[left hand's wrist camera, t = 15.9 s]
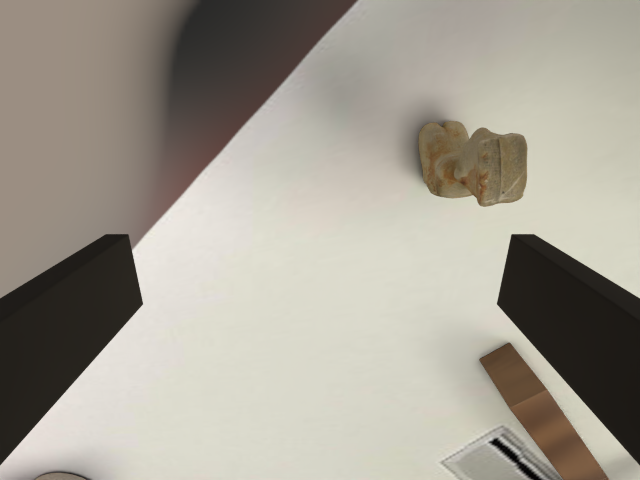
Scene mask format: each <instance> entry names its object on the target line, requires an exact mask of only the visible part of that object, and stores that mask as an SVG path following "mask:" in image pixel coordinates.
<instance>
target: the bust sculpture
mask: <svg viewBox="0 0 640 480" xmlns="http://www.w3.org/2000/svg"><path fill="white" fill-rule="evenodd" d="M35 480H86V479H84V478H82V477H79V476H76V475H72V474H67V473H50V474H45V475H42V476H40V477H38V478H36V479H35Z"/></svg>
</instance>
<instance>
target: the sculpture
mask: <svg viewBox="0 0 640 480" xmlns="http://www.w3.org/2000/svg"><path fill="white" fill-rule="evenodd" d="M418 142H419V153H420V159H421V164H422V169H423V179H424V182H425V183H426V184H427V186H428V189H429V191H430V192H431V193H432V194H434V195H436V196H440V197H446V198H460V197H467V196H471V195H474V196H475V197H476V198H477V201H478V203H479V205H480V206H483V207H486V206H491V205H495V204H498V203H511V202H515V201H517V200H519V199H521V198H522V196H523V192H524V189H525V187H526V181H527V143H526V140H525V138H524V136H522V135H520V134H513V133H510V134H506V135H499V134H495V133H492V132H490V131H489V130H488V129H486V128H479V129H477V130H476V131H475V132H474V134H473V135H472V136H471V138H470V139H469V137H468V134H467V131H466V129H465V127H464V125H463V124H462V123H460V122H457V121H449V122H445V123H444V124H443V127H441V126H440V125H439V124H438V123H429V124H427V125H425V126H424V127H423V128H422V129H421V131H420V134H419V140H418Z"/></svg>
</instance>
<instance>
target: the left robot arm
mask: <svg viewBox="0 0 640 480" xmlns="http://www.w3.org/2000/svg"><path fill="white" fill-rule="evenodd" d="M142 305H143V302H142V297H141V292H140V287H139V283H138V278H137V273H136V268H135V264H134V259H133V254H132V249H131V245H130V240H129V235H128V234H106V235H104V236H102V237H101V238H99V239H97V240H96V241H94V242H93V243H91V244H89V245H88V246H86V247H84V248H83V249H81V250H79V251H78V252H76V253H74V254H73V255H71V256H69V257H68V258H66V259H65V260H63V261H61V262H60V263H58V264H56V265H55V266H53V267H51V268H50V269H48V270H46V271H45V272H43V273H41V274H40V275H38V276H37V277H35V278H33V279H32V280H30V281H28V282H27V283H25V284H23V285H22V286H20V287H18V288H17V289H15V290H13V291H12V292H10V293H9V294H7V295H5V296H4V297H2V298H0V465H1V464H2V463H3V461H4V460H5V459H6V458H7V457H8V456H9V455H10V454H11V452H12V451H13V450H14V449H15V448H16V447H17V446H18V445H19V443H20V442H21V441H22V440H23V439H24V438H25V437H26V436H27V434H28V433H29V432H30V431H31V430H32V429H33V428H34V427H35V425H36V424H37V423H38V422H39V421H40V420H41V419H42V418H43V416H44V415H45V414H46V413H47V412H48V411H49V410H50V408H51V407H52V406H53V405H54V404H55V403H56V402H57V401H58V399H59V398H60V397H61V396H62V395H63V394H64V393H65V392H66V390H67V389H68V388H69V387H70V386H71V385H72V384H73V383H74V381H75V380H76V379H77V378H78V377H79V376H80V375H81V374H82V372H83V371H84V370H85V369H86V368H87V367H88V366H89V365H90V363H91V362H92V361H93V360H94V359H95V358H96V357H97V355H98V354H99V353H100V352H101V351H102V350H103V349H104V348H105V346H106V345H107V344H108V343H109V342H110V341H111V340H112V339H113V337H114V336H115V335H116V334H117V333H118V332H119V331H120V330H121V328H122V327H123V326H124V325H125V324H126V323H127V322H128V321H129V319H130V318H131V317H132V316H133V315H134V314H135V313H136V311H137V310H138V309H139V308H140V307H141V306H142ZM497 305H498V306H499V307H500V308H501V309H502V310H503V311H504V313H505V314H506V315H507V316H508V317H509V318H510V319H511V321H512V322H513V323H514V324H515V325H516V326H517V327H518V328H519V330H520V331H521V332H522V333H523V334H524V335H525V336H526V337H527V339H528V340H529V341H530V342H531V343H532V344H533V345H534V346H535V348H536V349H537V350H538V351H539V352H540V353H541V354H542V355H543V357H544V358H545V359H546V360H547V361H548V362H549V363H550V365H551V366H552V367H553V368H554V369H555V370H556V371H557V372H558V374H559V375H560V376H561V377H562V378H563V379H564V380H565V381H566V383H567V384H568V385H569V386H570V387H571V388H572V389H573V390H574V392H575V393H576V394H577V395H578V396H579V397H580V398H581V399H582V401H583V402H584V403H585V404H586V405H587V406H588V407H589V408H590V410H591V411H592V412H593V413H594V414H595V415H596V416H597V418H598V419H599V420H600V421H601V422H602V423H603V424H604V425H605V427H606V428H607V429H608V430H609V431H610V432H611V433H612V434H613V436H614V437H615V438H616V439H617V440H618V441H619V442H620V443H621V445H622V446H623V447H624V448H625V449H626V450H627V451H628V452H629V454H630V455H631V456H632V457H633V458H634V459H635V460H636V461H637V463H638V464H639V465H640V298H638V297H636V296H635V295H633V294H632V293H630V292H628V291H627V290H625V289H623V288H622V287H620V286H618V285H617V284H615V283H613V282H612V281H610V280H608V279H607V278H605V277H604V276H602V275H600V274H599V273H597V272H595V271H594V270H592V269H590V268H589V267H587V266H585V265H584V264H582V263H580V262H579V261H577V260H575V259H574V258H572V257H571V256H569V255H567V254H566V253H564V252H562V251H561V250H559V249H557V248H556V247H554V246H552V245H551V244H549V243H547V242H546V241H544V240H543V239H541V238H539V237H538V236H536V235H534V234H512V235H511V240H510V245H509V249H508V254H507V259H506V264H505V268H504V273H503V278H502V283H501V287H500V292H499V297H498V302H497Z"/></svg>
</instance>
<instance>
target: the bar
mask: <svg viewBox="0 0 640 480" xmlns="http://www.w3.org/2000/svg"><path fill="white" fill-rule="evenodd" d="M479 360H480V362H481V363H482V365H483V366H484V368H485V370H486V371H487V373H488V374H489V376H490V378H491V379H492V381H493V382H494V384H495V386H496V387H497V389H498V390H499V392H500V394H501V395H502V397H503V398H504V400H505V402H506V403H507V405H508V406H509V408H510V409H511V411H512V412H513V413H514V415H515V416H516V417H517V419H518V420H519V421H520V423H521V424H522V425H523V427H524V428H525V429H526V431H527V432H528V433H529V434H530V436H531V437H532V438H533V440H534V441H535V442H536V444H537V445H538V446H539V448H540V449H541V450H542V452H543V453H544V454H545V456H546V457H547V458H548V460H549V461H550V462H551V464H552V465H553V466H554V468H555V469H556V470H557V471H558V473H559V474H560V475H561V477H562V478H563V479H564V480H609V479H608V477H607V476H606V474H605V473H604V471H603V470H602V468H601V467H600V466H599V464H598V463H597V461H596V460H595V458H594V457H593V455H592V454H591V452H590V451H589V450H588V448H587V447H586V445H585V444H584V442H583V441H582V439H581V438H580V437H579V435H578V434H577V432H576V431H575V429H574V428H573V426H572V425H571V423H570V422H569V421H568V419H567V418H566V416H565V415H564V413H563V412H562V410H561V409H560V407H559V406H558V405H557V403H556V402H555V400H554V399H553V397H552V396H551V394H550V393H549V391H548V390H547V389H546V387H545V386H544V385H543V384H542V382H541V381H540V380H539V379H538V377H537V376H536V375H535V374H534V372H533V371H532V370H531V369H530V367H529V366H528V365H527V364H526V362H525V361H524V360H523V359H522V357H521V356H520V355H519V354H518V352H517V351H516V350H515V349H514V347H513V346H512V345H511V344H510V343H508V344H506V345H504V346H503V347H501V348H499V349H497V350H495V351H494V352H492V353H490V354H488V355H486V356H485V357H483V358H481V359H479Z"/></svg>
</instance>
